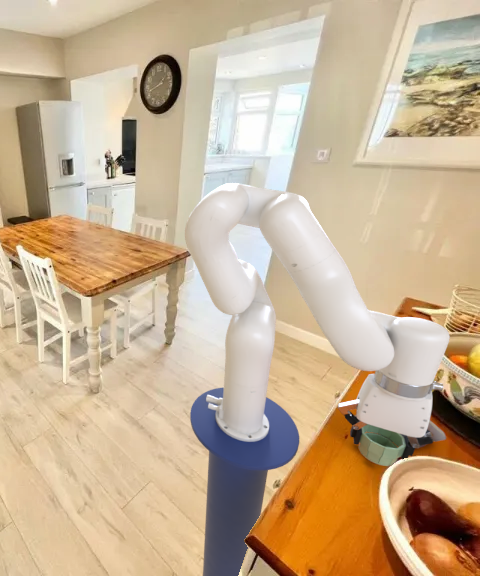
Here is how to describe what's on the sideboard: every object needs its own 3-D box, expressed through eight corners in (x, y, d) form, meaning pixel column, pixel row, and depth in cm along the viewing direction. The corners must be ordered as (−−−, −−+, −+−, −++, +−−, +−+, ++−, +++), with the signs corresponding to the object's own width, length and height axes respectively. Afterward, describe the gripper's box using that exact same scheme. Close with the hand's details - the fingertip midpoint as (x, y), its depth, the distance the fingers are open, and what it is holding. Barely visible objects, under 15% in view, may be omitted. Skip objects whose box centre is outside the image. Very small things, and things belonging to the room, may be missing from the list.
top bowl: (356, 459, 64) (362, 440, 62) (354, 434, 70) (359, 416, 67) (400, 474, 61) (408, 455, 58) (395, 447, 66) (402, 429, 64)
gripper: (463, 382, 55) (432, 451, 62) (342, 357, 65) (327, 419, 72) (478, 410, 50) (442, 482, 57) (343, 378, 60) (327, 443, 67)
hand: (378, 446), depth 64 cm, fingers closed on top bowl, 6 cm apart
